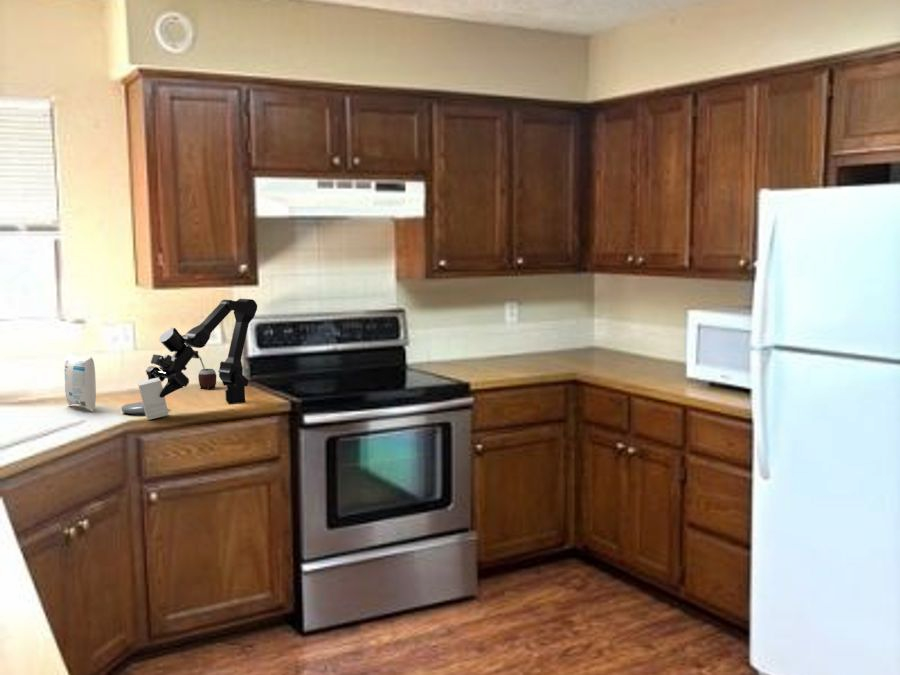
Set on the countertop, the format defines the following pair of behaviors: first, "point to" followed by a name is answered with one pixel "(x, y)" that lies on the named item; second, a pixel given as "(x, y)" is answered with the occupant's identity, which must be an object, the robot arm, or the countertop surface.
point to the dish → (134, 408)
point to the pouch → (80, 381)
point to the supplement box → (153, 398)
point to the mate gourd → (207, 378)
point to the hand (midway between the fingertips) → (152, 395)
